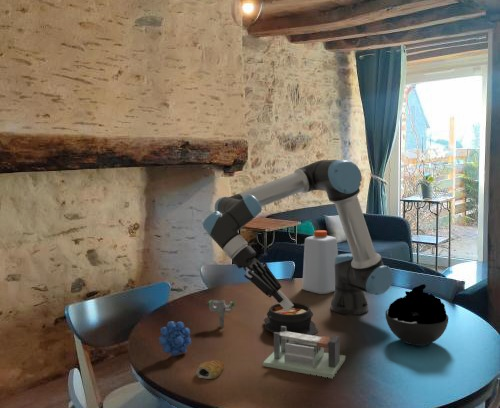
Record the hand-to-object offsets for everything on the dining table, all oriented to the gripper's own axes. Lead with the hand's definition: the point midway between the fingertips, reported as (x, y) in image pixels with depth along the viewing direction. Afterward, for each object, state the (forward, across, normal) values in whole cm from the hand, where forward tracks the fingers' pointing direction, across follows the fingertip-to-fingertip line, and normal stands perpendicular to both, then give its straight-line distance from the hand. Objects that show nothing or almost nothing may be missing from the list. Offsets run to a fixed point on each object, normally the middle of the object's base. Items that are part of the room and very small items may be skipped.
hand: (290, 308), depth 151 cm
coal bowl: (+37, -29, +12) cm, 48 cm away
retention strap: (+10, 0, -4) cm, 11 cm away
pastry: (-1, +17, -26) cm, 31 cm away
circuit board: (+15, 0, -9) cm, 18 cm away
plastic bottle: (+3, -80, -22) cm, 83 cm away
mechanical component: (-12, -18, -37) cm, 43 cm away
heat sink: (+15, 0, -8) cm, 17 cm away
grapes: (-13, +11, -37) cm, 41 cm away
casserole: (+6, -25, -19) cm, 32 cm away
